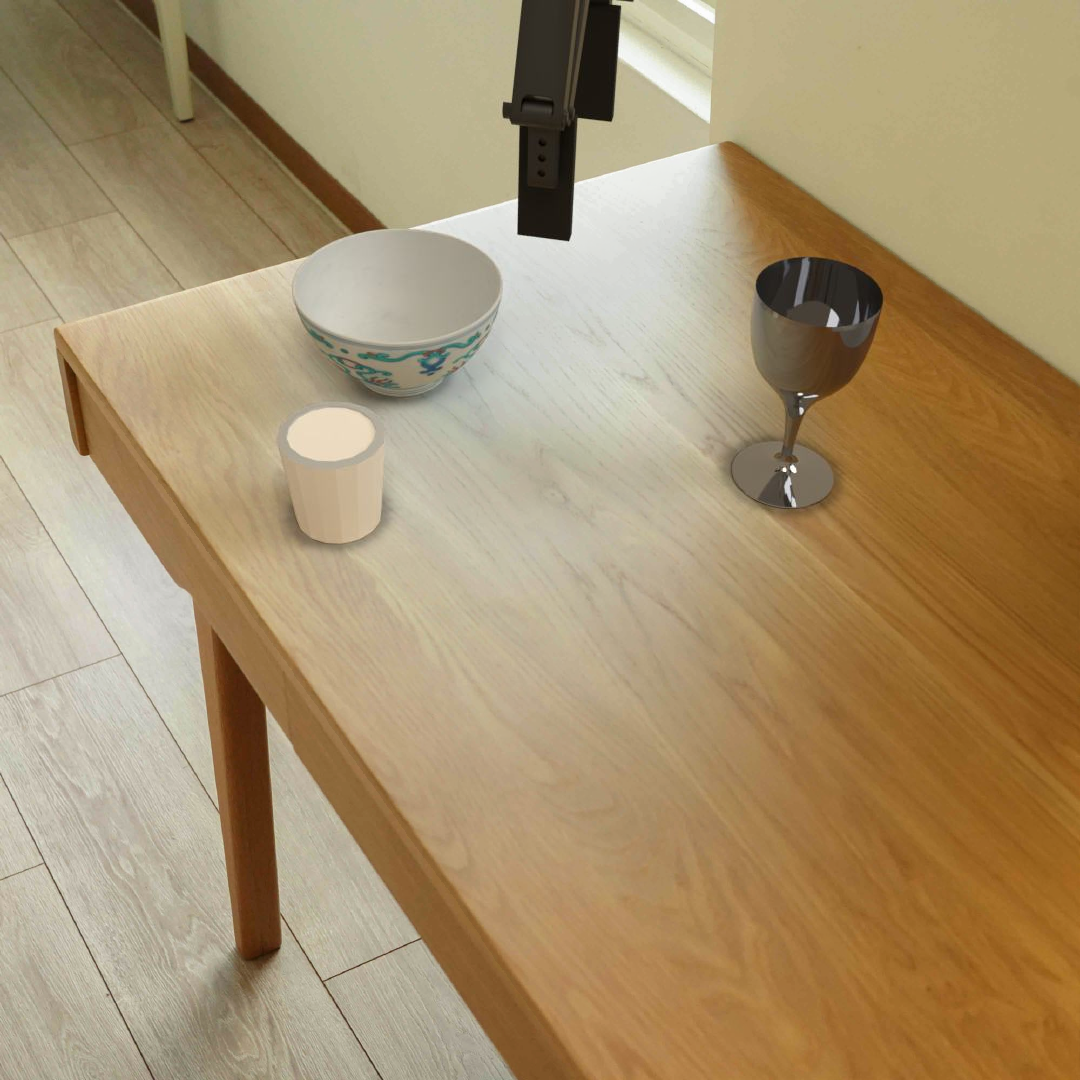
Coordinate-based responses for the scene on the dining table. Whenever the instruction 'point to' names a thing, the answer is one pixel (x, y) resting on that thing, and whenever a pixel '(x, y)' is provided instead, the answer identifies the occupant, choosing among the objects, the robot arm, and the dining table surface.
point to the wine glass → (804, 366)
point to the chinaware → (398, 306)
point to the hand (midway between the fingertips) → (568, 172)
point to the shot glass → (334, 469)
